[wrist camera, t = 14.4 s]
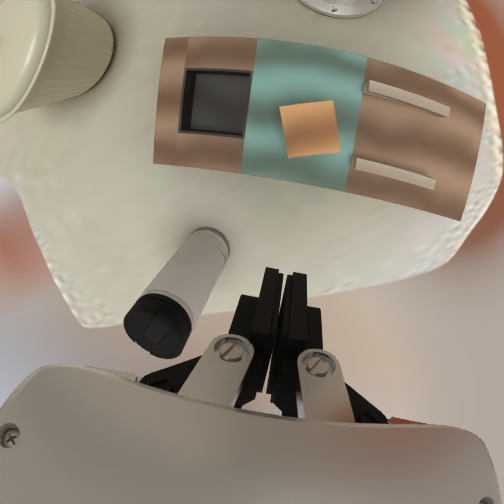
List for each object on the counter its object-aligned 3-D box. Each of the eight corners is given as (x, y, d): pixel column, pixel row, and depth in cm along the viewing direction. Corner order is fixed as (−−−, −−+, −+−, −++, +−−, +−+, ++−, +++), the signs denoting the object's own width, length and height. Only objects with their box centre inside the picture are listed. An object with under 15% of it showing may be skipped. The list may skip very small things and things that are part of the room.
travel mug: (240, 244, 42) (196, 343, 24) (213, 274, 44) (163, 374, 27) (204, 216, 41) (135, 298, 23) (180, 248, 43) (111, 336, 26)
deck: (177, 44, 31) (154, 33, 24) (470, 103, 27) (498, 104, 21) (166, 158, 38) (141, 167, 31) (447, 211, 35) (470, 229, 28)
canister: (82, -5, 27) (-14, -29, 8) (156, 24, 29) (50, -20, 10) (34, 86, 34) (-63, 100, 16) (95, 130, 37) (-19, 159, 18)
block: (282, 108, 29) (279, 106, 25) (327, 103, 28) (332, 100, 24) (289, 152, 31) (288, 157, 27) (334, 147, 30) (340, 152, 26)
